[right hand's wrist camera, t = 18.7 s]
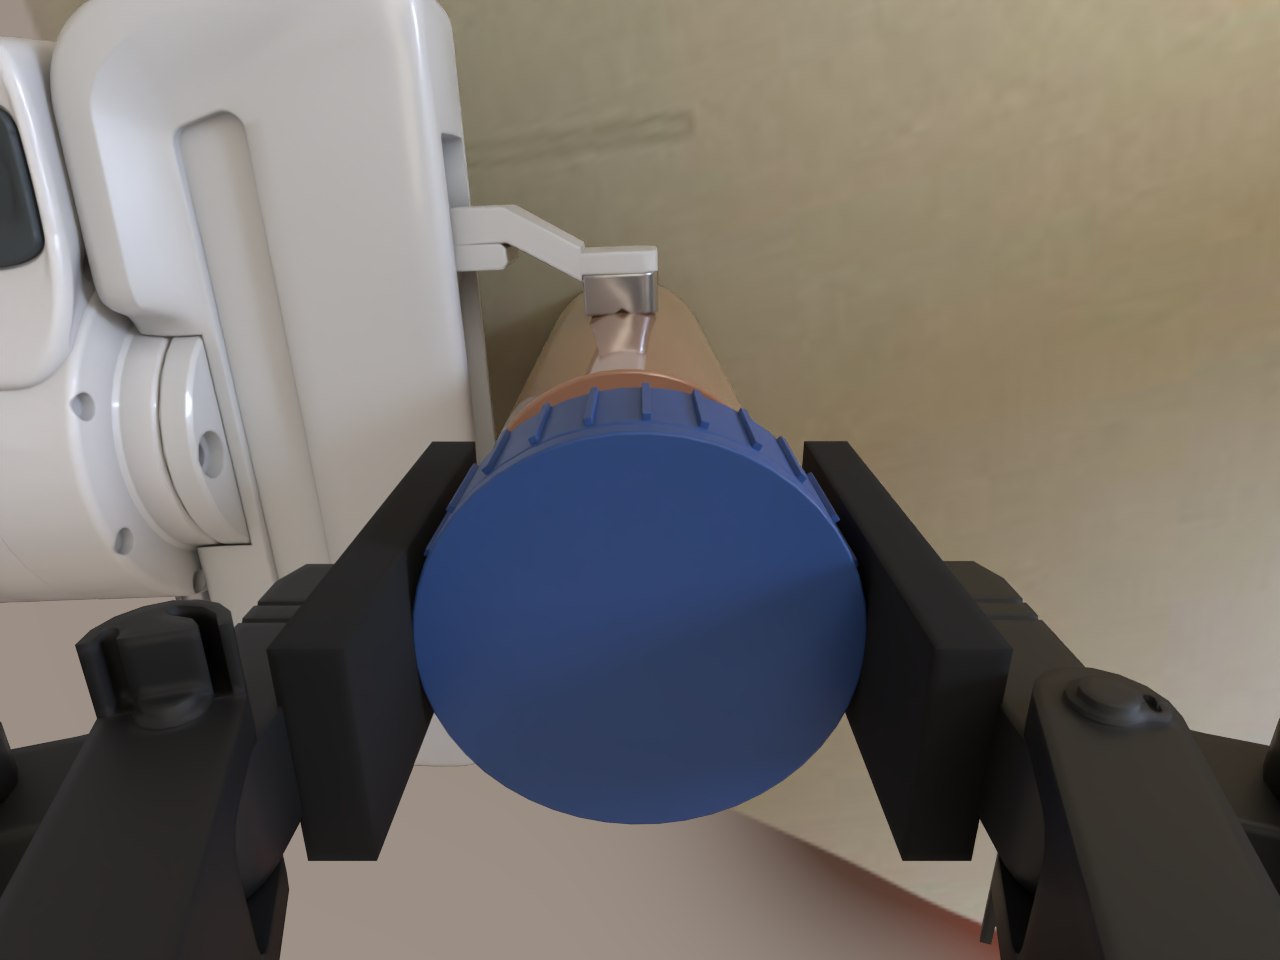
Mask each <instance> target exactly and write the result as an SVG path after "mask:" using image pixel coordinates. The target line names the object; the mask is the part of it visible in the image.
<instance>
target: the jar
mask: <svg viewBox="0 0 1280 960" xmlns="http://www.w3.org/2000/svg"><path fill="white" fill-rule="evenodd" d="M642 383H650V387H651V388H661V389H671V390H677V391H682V392H686V393H690V394H692V392H693V389H695V390H698V391H700V392H701V395H702V397H705V398H708V399H710V400H713V401H716V402H718V403H721V404H724V405H726V406H728V407H730V408H732V409H734V410H736V411H737V412H738V411H739V409H740V408H742V406H741V404H740V402H739V400H738V398H737V396H736V394H735V392H734V390H733V388H732V387H731V385H730V383H729V381H728V379H727V377H726V375H725V373H724V371H723V369H722V367H721V365H720V363H719V361H718V359H717V357H716V356H715V354H714V352H713V350H712V348H711V346H710V344H709V342H708V340H707V338H706V336H705V334H704V332H703V330H702V328H701V326H700V325H699V323H698V321H697V319H696V317H695V315H694V314H693V313H692V311H691V310H690V308H689V307H688V306H687V305H686V304H685V303H684V302H683V301H682V300H681V299H680V298H679V297H678V296H676V295H675V294H674V293H673V292H671V291H669V290H668V289H666V288H664V287H662V286H660V285H658V312H654V313H648V314H636V313H629V312H627V311H626V310H624V309H623V308H622V309H620V310H619V311H618V312H617V313H615V314H611V315H603V316H586V311H585V299H584V291H583V292H582V293H580V294H579V295H578V296H577V297H575V298H574V299H573V300H572V301H571V302H570V303H569V304H568V305H567V306H566V308H565V309H564V310H563V312H562V313H561V314H560V316H559V318H558V320H557V321H556V323H555V325H554V327H553V329H552V331H551V333H550V335H549V337H548V339H547V341H546V343H545V345H544V347H543V349H542V351H541V353H540V355H539V357H538V359H537V361H536V363H535V365H534V367H533V369H532V371H531V373H530V375H529V377H528V379H527V381H526V383H525V385H524V387H523V389H522V391H521V393H520V395H519V397H518V399H517V401H516V403H515V405H514V407H513V409H512V411H511V413H510V415H509V417H508V419H507V421H506V423H505V425H504V427H503V429H502V431H501V433H502V432H503V431H504V430H505V429H508V430H509V431H510V432H512V431H513V430H514V429H515V428H517V427H518V426H519V425H520V424H522V423H523V422H525V421H527V420H528V419H530V418H531V417H533V416H535V415H536V414H538V413H539V412H540V410H541V408H542V406H543V405H544V404H546V403H550V405H551V407H552V406H554V405H556V404H559V403H561V402H563V401H566V400H568V399H571V398H575V397H578V396H582V395H585V394H588V393H589V392H590V388H593V387H598V390H599V391H603V390H610V389H616V388H633V387H642ZM501 433H500V435H501ZM500 435H499V437H500ZM499 437H498V439H499ZM498 439H497V440H498ZM496 442H497V441H496ZM495 444H496V443H495ZM494 446H495V445H494ZM493 448H494V447H493Z"/></svg>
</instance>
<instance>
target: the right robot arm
mask: <svg viewBox="0 0 1280 960" xmlns="http://www.w3.org/2000/svg"><path fill="white" fill-rule="evenodd" d="M474 463H475V464H476V465H477V459H476V446H475V441H432V442H431V444H430V445H429V446H428V447H427V449H426V450H425V451H424V452H423V454H422V455H421V456H420V457H419V459H418V460H417V461H416V462H415V464H414V465H413V466H412V467H411V469H410V470H409V471H408V472H407V474H406V475H405V476H404V477H403V479H402V480H401V481H400V482H399V484H398V485H397V486H396V487H395V489H394V490H393V491H392V492H391V494H390V495H389V496H388V497H387V499H386V500H385V501H384V502H383V504H382V505H381V506H380V507H379V509H378V510H377V511H376V512H375V514H374V515H373V516H372V517H371V519H370V520H369V521H368V522H367V524H366V525H365V526H364V527H363V529H362V530H361V531H360V532H359V534H358V535H357V536H356V537H355V539H354V540H353V541H352V542H351V544H350V545H349V546H348V547H347V549H346V550H345V551H344V552H343V554H342V555H341V556H340V557H339V559H338V560H337V561H336V562H335V564H305V565H304V566H302V567H300V568H298V569H297V570H295V571H293V572H291V573H290V574H288V575H286V576H284V577H283V578H281V579H279V580H277V581H276V582H275V583H274V584H273V585H272V586H271V587H270V588H269V590H268V591H267V592H266V593H265V594H264V595H263V596H262V597H261V598H260V599H259V601H258V604H257V606H253V607H252V608H251V609H250V610H249V612H248V613H247V614H246V615H245V616H244V617H243V618H242V623H238V624H237V625H236V626H235V627H234V624H233V619H232V614H231V611H230V610H228V609H227V608H226V607H224V606H223V605H221V604H220V603H217V602H211V601H206V600H200V599H193V600H172V601H168V602H163V603H158V604H153V605H148V606H143V607H140V608H138V609H135V610H132V611H129V612H126V613H124V614H121V615H118V616H115V617H113V618H111V619H110V620H108V621H106V622H104V623H103V624H101V625H99V626H97V627H95V628H94V629H92V630H90V631H89V632H88V633H87V634H86V635H85V636H84V637H83V638H82V639H81V640H80V641H79V642H78V643H77V644H76V645H75V646H76V650H77V653H78V656H79V660H80V663H81V666H82V670H83V673H84V676H85V680H86V683H87V686H88V690H89V693H90V696H91V700H92V703H93V706H94V710H95V713H96V716H97V720H96V722H95V724H94V725H93V727H92V729H91V731H90V733H89V734H86V735H82V736H78V737H73V738H67V739H62V740H57V741H52V742H47V743H42V744H37V745H32V746H26V747H21V748H16V749H10V746H9V743H8V740H7V737H6V735H5V732H4V729H3V726H2V723H1V722H0V960H279V959H280V952H281V944H282V937H283V930H284V922H285V915H286V908H287V901H288V894H289V886H288V878H287V872H286V867H285V862H284V858H283V853H284V851H285V849H286V847H287V846H288V844H289V842H290V840H291V838H292V836H293V834H294V832H295V831H296V829H297V827H298V825H299V823H300V822H301V827H302V832H303V837H304V842H305V847H306V852H307V857H308V861H377V859H378V856H379V854H380V851H381V849H382V846H383V844H384V841H385V838H386V836H387V833H388V831H389V828H390V825H391V823H392V820H393V818H394V815H395V813H396V810H397V807H398V805H399V802H400V800H401V797H402V794H403V792H404V789H405V787H406V784H407V782H408V779H409V776H410V774H411V771H412V769H413V766H414V763H415V761H416V758H417V756H418V753H419V751H420V748H421V745H422V743H423V740H424V738H425V735H426V732H427V730H428V727H429V725H430V722H431V720H432V717H433V714H434V711H433V709H432V707H431V705H430V702H429V700H428V698H427V696H426V694H425V692H424V689H423V686H422V683H421V680H420V676H419V673H418V670H417V663H416V655H415V647H414V638H413V626H412V613H413V606H414V600H415V593H416V587H417V584H418V581H419V578H420V575H421V572H422V568H423V565H424V562H425V560H426V558H427V556H424V552H425V549H426V547H427V546H428V544H429V542H430V541H431V539H432V537H433V535H434V534H435V532H436V530H437V529H438V527H439V525H440V523H441V522H442V520H443V518H444V517H445V515H446V513H447V510H446V509H447V507H448V505H449V503H450V502H451V500H452V498H453V497H454V495H455V493H456V492H457V490H458V488H459V487H460V485H461V483H462V481H463V480H464V478H465V476H466V475H467V473H468V471H469V470H470V468H471V467H472V465H473V464H474ZM802 469H803V470H804V472H805V473H806V474H808V473H810V472H812V474H813V475H814V477H815V479H816V480H817V482H818V484H819V485H820V487H821V489H822V490H823V492H824V494H825V495H826V497H827V499H828V500H829V502H830V504H831V506H832V507H833V509H834V511H835V512H836V514H837V516H838V517H839V519H840V520H839V521H837V522H836V524H837V526H838V527H839V529H840V531H841V533H842V534H843V536H844V538H845V539H846V541H847V543H848V545H849V546H850V548H851V550H852V552H853V553H854V555H855V557H856V559H857V561H858V564H859V566H858V567H856V568H857V570H858V573H859V575H860V579H861V583H862V588H863V592H864V597H865V601H866V613H867V632H866V640H865V649H864V657H863V665H862V670H861V674H860V678H859V682H858V684H857V687H856V689H855V692H854V694H853V697H852V699H851V702H850V704H849V706H848V708H847V709H846V711H845V713H846V716H847V718H848V721H849V724H850V726H851V729H852V731H853V734H854V736H855V739H856V742H857V744H858V747H859V749H860V752H861V755H862V757H863V760H864V762H865V765H866V767H867V770H868V773H869V775H870V778H871V780H872V783H873V786H874V788H875V791H876V793H877V796H878V798H879V801H880V804H881V806H882V809H883V811H884V814H885V817H886V819H887V822H888V824H889V827H890V829H891V832H892V835H893V837H894V840H895V842H896V845H897V848H898V850H899V853H900V855H901V858H902V861H971V859H972V854H973V849H974V844H975V839H976V834H977V829H978V824H979V819H980V820H981V822H982V824H983V826H984V828H985V829H986V831H987V833H988V835H989V837H990V839H991V841H992V842H993V844H994V846H995V848H996V850H997V852H998V853H997V858H996V862H995V867H994V872H993V876H992V881H991V886H990V890H989V895H988V900H987V904H986V909H985V914H984V918H983V923H982V929H981V937H980V942H983V943H987V944H991V942H992V938H993V933H994V929H995V927H996V928H997V935H998V942H999V950H1000V957H1001V960H1280V718H1279V721H1278V724H1277V727H1276V730H1275V732H1274V735H1273V738H1272V741H1271V744H1270V746H1268V745H1262V744H1257V743H1252V742H1247V741H1242V740H1237V739H1231V738H1226V737H1221V736H1216V735H1211V734H1205V733H1200V732H1196V731H1192V730H1190V729H1189V728H1188V726H1187V724H1186V722H1185V720H1184V718H1183V717H1182V716H1181V715H1180V713H1179V712H1178V711H1177V710H1176V709H1175V708H1174V706H1173V705H1172V704H1171V703H1170V702H1169V701H1168V700H1166V699H1165V698H1163V697H1162V696H1160V695H1159V694H1157V693H1156V692H1154V691H1153V690H1151V689H1150V688H1148V687H1147V686H1145V685H1142V684H1140V683H1138V682H1135V681H1133V680H1131V679H1128V678H1126V677H1124V676H1121V675H1119V674H1114V673H1110V672H1106V671H1102V670H1098V669H1094V668H1086V667H1085V666H1084V665H1083V664H1082V663H1081V662H1080V661H1079V660H1078V659H1077V658H1076V657H1075V655H1074V654H1073V653H1072V652H1071V651H1070V650H1069V649H1068V648H1067V647H1066V646H1065V645H1064V644H1063V642H1062V641H1061V640H1060V639H1059V638H1058V637H1057V636H1056V635H1055V634H1054V633H1053V632H1052V630H1051V629H1050V628H1049V627H1048V626H1047V625H1046V624H1045V623H1044V622H1043V621H1042V620H1038V615H1037V614H1036V613H1035V612H1034V611H1033V610H1032V609H1031V608H1030V606H1029V605H1028V604H1027V603H1023V602H1022V598H1021V597H1020V596H1019V595H1018V593H1017V592H1016V591H1015V590H1014V589H1013V588H1012V587H1011V586H1010V585H1009V584H1008V583H1007V581H1006V580H1005V579H1004V578H1002V577H1000V576H998V575H997V574H995V573H993V572H991V571H990V570H988V569H986V568H984V567H983V566H981V565H979V564H977V563H976V562H974V561H942V559H941V558H940V557H939V556H938V554H937V553H936V552H935V551H934V549H933V548H932V547H931V546H930V544H929V543H928V542H927V541H926V539H925V538H924V537H923V536H922V534H921V533H920V532H919V531H918V529H917V528H916V527H915V526H914V524H913V523H912V522H911V521H910V519H909V518H908V517H907V516H906V514H905V513H904V512H903V511H902V509H901V508H900V507H899V506H898V504H897V503H896V502H895V501H894V499H893V498H892V497H891V496H890V494H889V493H888V492H887V491H886V489H885V488H884V487H883V486H882V484H881V483H880V482H879V481H878V479H877V478H876V477H875V476H874V474H873V473H872V472H871V471H870V469H869V468H868V467H867V466H866V464H865V463H864V462H863V461H862V459H861V458H860V457H859V456H858V454H857V453H856V452H855V451H854V449H853V448H852V447H851V446H850V444H849V443H848V442H847V441H804V451H803V464H802Z"/></svg>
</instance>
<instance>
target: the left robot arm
mask: <svg viewBox="0 0 1280 960" xmlns="http://www.w3.org/2000/svg"><path fill="white" fill-rule="evenodd" d="M518 249H519V250H521V251H523V252H525V253H527V254H529V255H531V256H533V257H534V258H536V259H538V260H540V261H542V262H544V263H546V264H548V265H550V266H552V267H554V268H556V269H558V270H560V271H562V272H564V273H566V274H567V275H569V276H571V277H573V278H575V279H577V280H579V281H581V282H582V280H583V286H584V299H585V311H586V316H603V315H611V314H615V313H617V312H618V311H619V310H620V309H622V308H623V309H624V310H626V311H627V312H629V313H636V314H648V313H654V312H658V259H657V247H656V246H645V245H639V246H612V247H585V242H583V241H581V240H579V239H578V238H576V237H574V236H572V235H570V234H568V233H567V232H565V231H563V230H561V229H559V228H557V227H556V226H554V225H552V224H550V223H548V222H546V221H545V220H543V219H541V218H539V217H537V216H535V215H534V214H532V213H530V212H528V211H526V210H524V209H523V208H521V207H519V206H517V205H515V204H513V205H486V206H471V200H470V191H469V182H468V172H467V163H466V153H465V144H464V135H463V125H462V116H461V107H460V97H459V88H458V78H457V69H456V60H455V50H454V41H453V32H452V26H451V23H450V19H449V17H448V15H447V13H446V12H445V10H444V9H443V8H442V6H441V5H440V4H439V3H438V2H437V1H436V0H88V1H87V2H85V3H84V4H83V5H81V6H80V7H79V8H78V9H77V10H76V11H75V12H74V13H73V14H72V15H71V16H70V17H69V19H68V20H67V22H66V23H65V25H64V26H63V28H62V30H61V31H60V34H59V36H58V38H57V40H56V42H52V41H45V40H37V39H29V38H21V37H10V36H0V603H5V602H33V601H57V600H84V599H120V598H146V597H172V596H175V597H176V600H193V599H200V600H206V601H211V602H217V603H220V604H221V605H223V606H224V607H226V608H227V609H228V610H230V611H231V614H232V619H233V624H234V627H235V626H236V625H237V624H238V623H242V618H243V617H244V616H245V615H246V614H247V613H248V612H249V610H250V609H251V608H252V607H253V606H257V604H258V601H259V599H260V598H261V597H262V596H263V595H264V594H265V593H266V592H267V591H268V590H269V588H270V587H271V586H272V585H273V584H274V583H275V582H276V581H277V580H279V579H281V578H283V577H284V576H286V575H288V574H290V573H291V572H293V571H295V570H297V569H298V568H300V567H302V566H304V565H305V564H335V562H336V561H337V560H338V559H339V557H340V556H341V555H342V554H343V552H344V551H345V550H346V549H347V547H348V546H349V545H350V544H351V542H352V541H353V540H354V539H355V537H356V536H357V535H358V534H359V532H360V531H361V530H362V529H363V527H364V526H365V525H366V524H367V522H368V521H369V520H370V519H371V517H372V516H373V515H374V514H375V512H376V511H377V510H378V509H379V507H380V506H381V505H382V504H383V502H384V501H385V500H386V499H387V497H388V496H389V495H390V494H391V492H392V491H393V490H394V489H395V487H396V486H397V485H398V484H399V482H400V481H401V480H402V479H403V477H404V476H405V475H406V474H407V472H408V471H409V470H410V469H411V467H412V466H413V465H414V464H415V462H416V461H417V460H418V459H419V457H420V456H421V455H422V454H423V452H424V451H425V450H426V449H427V447H428V446H429V445H430V444H431V442H432V441H475V446H476V459H477V465H478V466H479V465H480V464H481V462H482V461H483V460H484V458H485V457H486V456H487V455H488V454H489V453H490V452H491V451H492V449H493V447H494V445H495V443H496V435H495V425H494V416H493V406H492V397H491V388H490V378H489V369H488V360H487V350H486V341H485V331H484V322H483V313H482V303H481V294H480V285H479V275H478V271H486V270H503V269H504V268H506V267H507V266H509V265H510V264H511V263H513V262H514V261H515V260H516V259H517V258H518V257H519V254H518ZM472 764H475V763H474V762H473V761H472V760H471V759H470V758H469V757H468V756H467V755H465V753H464V752H463V751H462V750H461V749H460V748H459V746H458V745H457V744H456V743H455V742H454V741H453V739H452V738H451V737H450V736H449V735H448V733H447V732H446V730H445V729H444V727H443V725H442V724H441V722H440V721H439V719H438V718H437V716H436V715H435V713H434V714H433V717H432V720H431V722H430V725H429V727H428V730H427V732H426V735H425V738H424V740H423V743H422V745H421V748H420V751H419V753H418V756H417V758H416V761H415V763H414V765H415V766H467V765H472Z"/></svg>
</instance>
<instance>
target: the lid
mask: <svg viewBox="0 0 1280 960" xmlns="http://www.w3.org/2000/svg"><path fill="white" fill-rule="evenodd" d="M446 510H447V513H446V515H445V517H444V518H443V520H442V522H441V523H440V525H439V527H438V529H437V530H436V532H435V534H434V535H433V537H432V539H431V541H430V542H429V544H428V546H427V547H426V549H425V552H424V556H427V558H426V560H425V562H424V565H423V568H422V572H421V575H420V578H419V581H418V584H417V587H416V593H415V600H414V606H413V613H412V626H413V638H414V647H415V655H416V663H417V670H418V673H419V676H420V680H421V683H422V686H423V689H424V692H425V694H426V696H427V698H428V700H429V702H430V705H431V707H432V709H433V711H434V713H435V715H436V716H437V718H438V719H439V721H440V722H441V724H442V725H443V727H444V729H445V730H446V732H447V733H448V735H449V736H450V737H451V738H452V739H453V741H454V742H455V743H456V744H457V745H458V746H459V748H460V749H461V750H462V751H463V752H464V753H465V755H467V756H468V757H469V758H470V759H471V760H472V761H473V762H474V763H475V764H476V765H478V766H479V767H480V768H481V769H482V770H483V771H484V772H486V773H487V774H488V775H490V776H491V777H493V778H494V779H495V780H497V781H498V782H500V783H501V784H502V785H504V786H505V787H507V788H509V789H510V790H512V791H514V792H516V793H518V794H520V795H521V796H523V797H525V798H527V799H529V800H531V801H533V802H536V803H538V804H541V805H543V806H545V807H548V808H550V809H553V810H556V811H559V812H563V813H566V814H570V815H573V816H576V817H580V818H586V819H591V820H596V821H602V822H610V823H622V824H660V823H668V822H677V821H685V820H689V819H694V818H698V817H702V816H707V815H711V814H714V813H717V812H720V811H723V810H726V809H728V808H731V807H734V806H737V805H739V804H741V803H743V802H745V801H748V800H750V799H752V798H754V797H756V796H758V795H760V794H762V793H764V792H765V791H767V790H768V789H770V788H772V787H773V786H775V785H777V784H778V783H780V782H781V781H783V780H784V779H786V778H787V777H788V776H789V775H791V774H792V773H793V772H794V771H796V770H797V769H798V768H800V767H801V766H802V765H803V764H804V763H805V762H806V761H807V760H808V759H809V758H810V757H811V756H812V755H813V754H814V753H815V752H816V751H817V750H818V749H819V748H820V747H821V746H822V745H823V743H824V742H825V741H826V740H827V738H828V737H829V736H830V734H831V733H832V732H833V730H834V729H835V728H836V727H837V725H838V723H839V721H840V720H841V718H842V716H843V714H844V713H845V711H846V709H847V708H848V706H849V704H850V702H851V699H852V697H853V694H854V692H855V689H856V687H857V684H858V682H859V678H860V674H861V670H862V665H863V657H864V649H865V640H866V632H867V613H866V601H865V597H864V592H863V588H862V583H861V579H860V575H859V573H858V570H857V568H856V567H858V566H859V564H858V561H857V559H856V557H855V555H854V553H853V552H852V550H851V548H850V546H849V545H848V543H847V541H846V539H845V538H844V536H843V534H842V533H841V531H840V529H839V527H838V526H837V524H836V522H837V521H839V520H840V519H839V517H838V516H837V514H836V512H835V511H834V509H833V507H832V506H831V504H830V502H829V500H828V499H827V497H826V495H825V494H824V492H823V490H822V489H821V487H820V485H819V484H818V482H817V480H816V479H815V477H814V475H813V474H812V472H810V473H808V474H806V473H805V472H804V470H803V469H802V467H801V466H800V465H799V463H798V461H797V459H796V458H795V456H794V454H793V452H792V451H791V449H790V447H789V445H788V444H787V442H786V440H785V439H784V438H783V437H782V436H780V437H779V438H778V439H776V438H775V437H774V436H773V435H772V434H771V433H769V432H768V431H767V430H765V429H764V428H763V427H761V426H760V425H758V424H757V423H756V422H754V421H753V420H751V419H750V416H749V414H748V412H747V411H746V410H745V409H743V408H740V409H739V411H738V412H737V411H736V410H734V409H732V408H730V407H728V406H726V405H724V404H721V403H718V402H716V401H713V400H710V399H708V398H705V397H702V395H701V392H700V391H698V390H695V389H693V392H692V394H690V393H686V392H682V391H677V390H671V389H661V388H651V387H650V383H642V387H633V388H616V389H610V390H603V391H599V390H598V387H593V388H590V392H589V393H588V394H585V395H582V396H578V397H575V398H571V399H568V400H566V401H563V402H561V403H559V404H556V405H554V406H552V407H551V405H550V403H546V404H544V405H543V406H542V408H541V410H540V412H539V413H538V414H536V415H535V416H533V417H531V418H530V419H528V420H527V421H525V422H523V423H522V424H520V425H519V426H518V427H517V428H515V429H514V430H513V431H512V432H510V431H509V430H508V429H505V430H504V431H503V432H502V433H501V435H500V437H499V439H498V440H497V442H496V444H495V446H494V448H493V449H492V451H491V452H490V453H489V454H488V455H487V456H486V457H485V458H484V460H483V461H482V462H481V464H480V465H479V466H478V465H476V464H475V463H474V464H473V465H472V467H471V468H470V470H469V471H468V473H467V475H466V476H465V478H464V480H463V481H462V483H461V485H460V487H459V488H458V490H457V492H456V493H455V495H454V497H453V498H452V500H451V502H450V503H449V505H448V507H447V509H446Z"/></svg>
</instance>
